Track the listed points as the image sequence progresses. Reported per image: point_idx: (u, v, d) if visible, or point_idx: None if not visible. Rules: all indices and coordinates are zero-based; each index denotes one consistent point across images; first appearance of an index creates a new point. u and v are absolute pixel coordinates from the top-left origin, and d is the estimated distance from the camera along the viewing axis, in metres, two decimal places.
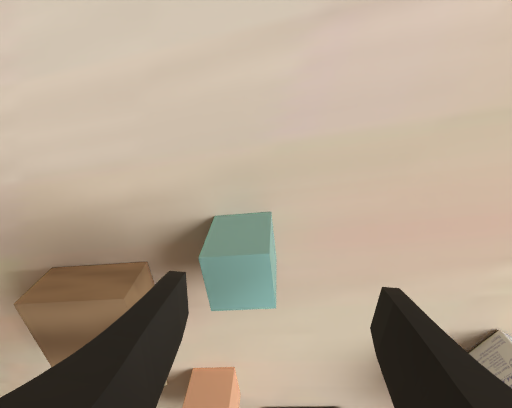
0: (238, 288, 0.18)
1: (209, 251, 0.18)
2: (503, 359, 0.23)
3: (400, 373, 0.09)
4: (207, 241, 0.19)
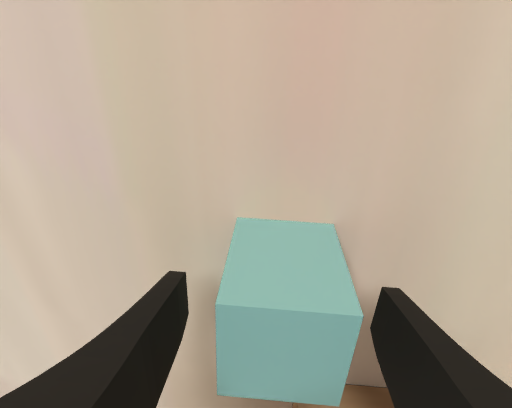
0: (293, 362, 0.09)
1: None
2: None
3: (400, 373, 0.09)
4: None
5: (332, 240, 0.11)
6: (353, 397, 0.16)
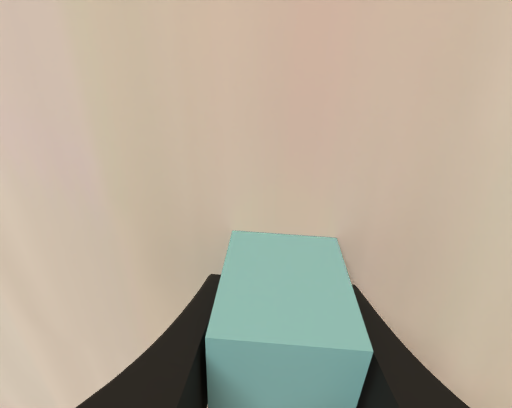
0: (293, 399, 0.08)
1: None
2: None
3: None
4: None
5: (335, 257, 0.10)
6: None
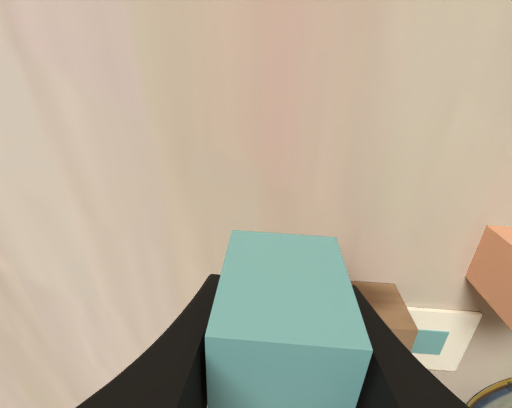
0: (293, 398, 0.08)
1: None
2: None
3: None
4: None
5: (335, 257, 0.10)
6: None
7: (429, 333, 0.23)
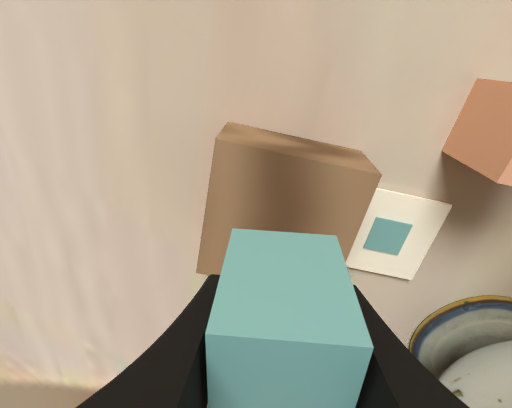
0: (294, 395, 0.08)
1: None
2: None
3: None
4: None
5: (335, 255, 0.10)
6: (277, 135, 0.17)
7: (390, 224, 0.20)
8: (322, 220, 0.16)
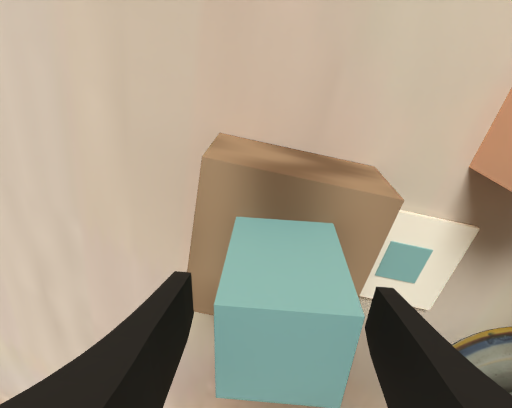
0: (293, 363, 0.09)
1: None
2: None
3: (393, 373, 0.09)
4: None
5: (332, 240, 0.11)
6: (277, 149, 0.15)
7: (407, 249, 0.17)
8: None
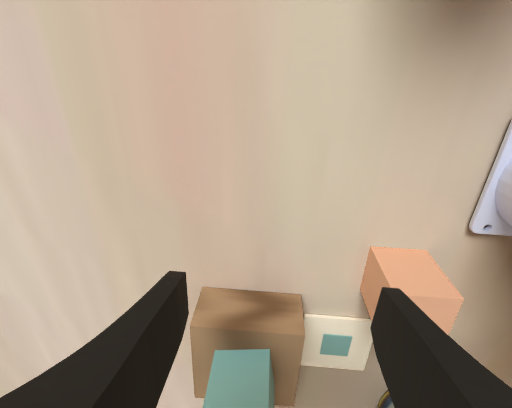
0: None
1: None
2: None
3: (400, 373, 0.09)
4: None
5: (265, 365, 0.21)
6: (237, 296, 0.24)
7: (335, 337, 0.26)
8: (273, 362, 0.22)
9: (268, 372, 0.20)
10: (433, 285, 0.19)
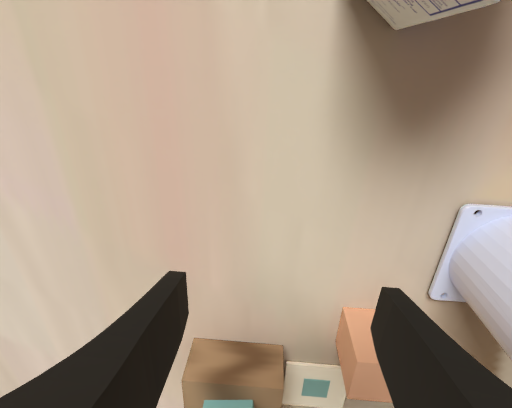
0: None
1: None
2: None
3: (400, 373, 0.09)
4: None
5: None
6: (225, 347, 0.27)
7: (315, 381, 0.29)
8: None
9: None
10: None
